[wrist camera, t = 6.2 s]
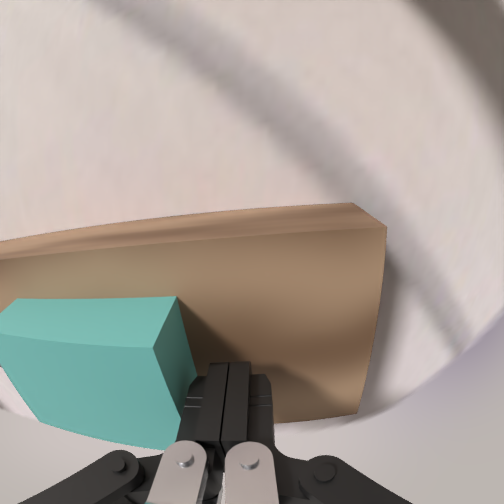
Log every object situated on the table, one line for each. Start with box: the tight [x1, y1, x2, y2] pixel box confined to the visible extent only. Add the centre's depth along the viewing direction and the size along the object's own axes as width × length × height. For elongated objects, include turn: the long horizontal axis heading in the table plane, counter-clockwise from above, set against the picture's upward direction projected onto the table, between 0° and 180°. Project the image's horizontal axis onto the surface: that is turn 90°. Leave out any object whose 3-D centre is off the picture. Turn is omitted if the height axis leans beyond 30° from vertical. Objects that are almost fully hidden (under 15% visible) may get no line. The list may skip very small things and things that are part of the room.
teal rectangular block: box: [0, 296, 197, 450], centre depth 10 cm, size 6×9×3 cm, turn 95°
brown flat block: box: [0, 203, 387, 424], centre depth 13 cm, size 10×22×4 cm, turn 94°
